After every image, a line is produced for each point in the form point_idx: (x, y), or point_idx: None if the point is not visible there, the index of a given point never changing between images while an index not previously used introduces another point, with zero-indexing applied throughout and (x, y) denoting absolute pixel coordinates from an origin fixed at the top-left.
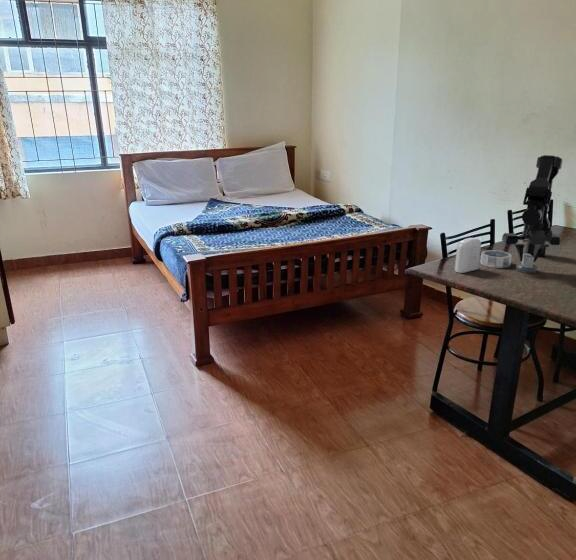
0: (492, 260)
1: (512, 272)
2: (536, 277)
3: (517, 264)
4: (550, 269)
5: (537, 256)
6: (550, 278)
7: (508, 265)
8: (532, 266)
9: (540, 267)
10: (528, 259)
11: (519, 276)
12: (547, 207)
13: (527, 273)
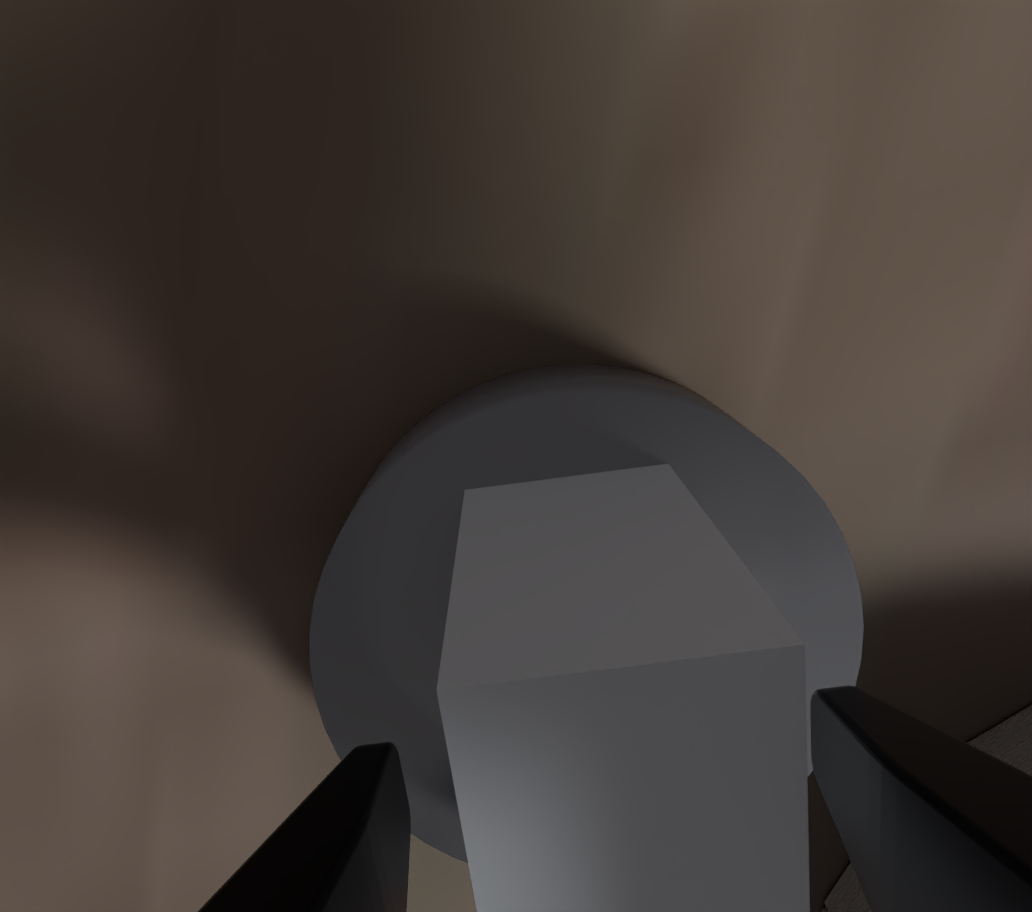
0: None
1: (951, 370)
2: (416, 19)
3: None
4: (6, 813)
5: (237, 905)
6: (33, 10)
7: None
8: (469, 505)
9: None
10: (686, 599)
11: (880, 6)
12: None
13: (588, 366)
